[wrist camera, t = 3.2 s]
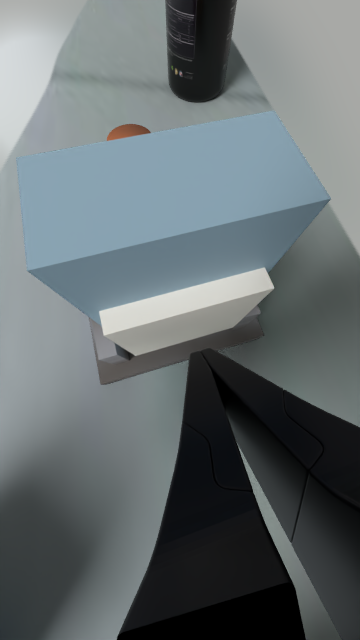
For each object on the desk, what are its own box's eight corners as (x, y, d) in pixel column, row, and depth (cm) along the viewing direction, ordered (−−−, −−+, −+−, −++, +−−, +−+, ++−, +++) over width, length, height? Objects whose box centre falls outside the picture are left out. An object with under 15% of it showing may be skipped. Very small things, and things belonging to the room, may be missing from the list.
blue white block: (225, 337, 15) (349, 227, 4) (139, 363, 14) (31, 309, 4) (208, 291, 16) (274, 109, 5) (127, 313, 15) (16, 157, 5)
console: (257, 338, 16) (335, 297, 8) (106, 384, 15) (29, 386, 7) (205, 211, 20) (224, 97, 12) (79, 239, 18) (8, 134, 11)
